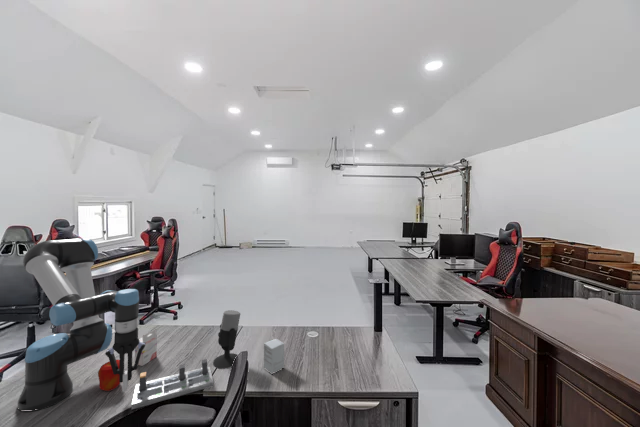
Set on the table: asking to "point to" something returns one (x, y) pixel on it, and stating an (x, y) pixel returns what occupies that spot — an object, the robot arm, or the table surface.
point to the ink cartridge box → (147, 348)
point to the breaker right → (204, 367)
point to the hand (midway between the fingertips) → (125, 388)
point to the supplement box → (274, 355)
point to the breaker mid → (181, 372)
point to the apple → (108, 377)
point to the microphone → (227, 339)
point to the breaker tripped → (143, 382)
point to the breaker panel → (171, 387)
